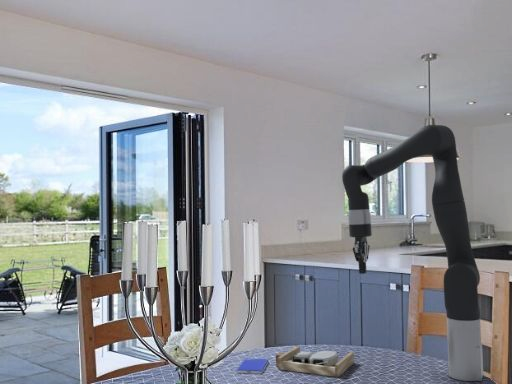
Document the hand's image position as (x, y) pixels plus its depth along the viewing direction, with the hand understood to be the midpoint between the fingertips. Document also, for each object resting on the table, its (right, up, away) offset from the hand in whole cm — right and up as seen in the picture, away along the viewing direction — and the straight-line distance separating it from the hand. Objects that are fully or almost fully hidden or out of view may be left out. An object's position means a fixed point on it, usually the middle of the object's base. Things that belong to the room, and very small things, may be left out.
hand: (362, 273), depth 183 cm
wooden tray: (-18, -28, -12) cm, 35 cm away
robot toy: (-18, -28, -12) cm, 36 cm away
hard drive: (-38, -29, -12) cm, 49 cm away
